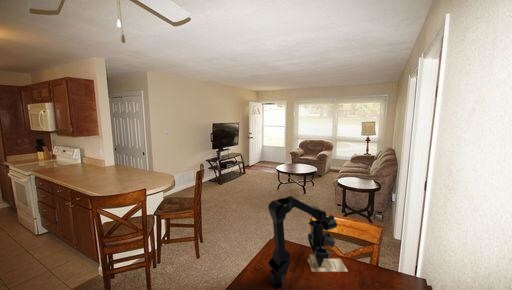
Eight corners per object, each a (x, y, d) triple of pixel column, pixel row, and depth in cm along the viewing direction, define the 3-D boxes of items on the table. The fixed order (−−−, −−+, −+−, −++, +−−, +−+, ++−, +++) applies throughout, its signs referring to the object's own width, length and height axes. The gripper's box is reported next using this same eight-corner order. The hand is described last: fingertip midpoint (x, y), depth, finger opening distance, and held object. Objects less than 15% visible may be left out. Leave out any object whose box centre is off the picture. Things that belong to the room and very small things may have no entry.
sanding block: (311, 267, 112) (311, 259, 111) (309, 262, 116) (309, 254, 115) (325, 267, 112) (325, 259, 111) (322, 262, 116) (322, 254, 115)
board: (311, 273, 109) (312, 271, 109) (307, 260, 119) (307, 258, 119) (347, 273, 109) (348, 271, 109) (340, 260, 119) (340, 258, 119)
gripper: (340, 242, 102) (339, 272, 104) (327, 223, 121) (326, 249, 123) (316, 242, 102) (316, 273, 104) (307, 223, 121) (307, 249, 123)
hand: (317, 260), depth 113 cm, fingers open, 9 cm apart
